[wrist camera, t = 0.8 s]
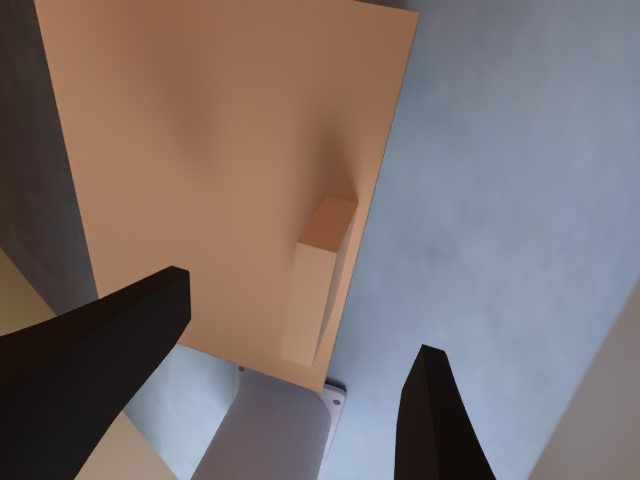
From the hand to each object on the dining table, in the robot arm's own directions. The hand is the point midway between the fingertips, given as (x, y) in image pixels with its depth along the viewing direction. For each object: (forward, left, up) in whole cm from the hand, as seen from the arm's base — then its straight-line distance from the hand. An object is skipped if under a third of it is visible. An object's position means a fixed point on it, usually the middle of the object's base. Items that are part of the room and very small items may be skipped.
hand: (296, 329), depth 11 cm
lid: (0, +6, -5) cm, 8 cm away
